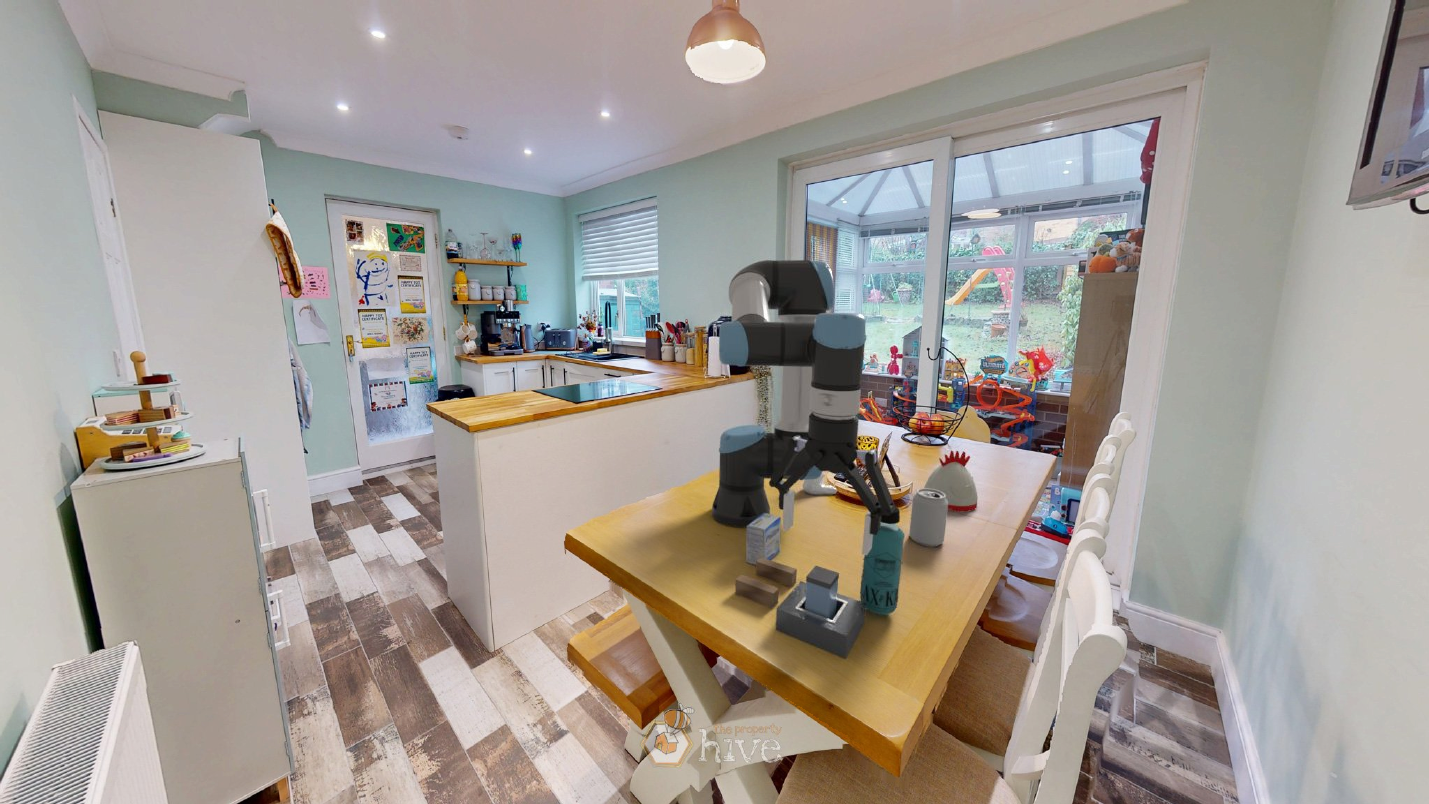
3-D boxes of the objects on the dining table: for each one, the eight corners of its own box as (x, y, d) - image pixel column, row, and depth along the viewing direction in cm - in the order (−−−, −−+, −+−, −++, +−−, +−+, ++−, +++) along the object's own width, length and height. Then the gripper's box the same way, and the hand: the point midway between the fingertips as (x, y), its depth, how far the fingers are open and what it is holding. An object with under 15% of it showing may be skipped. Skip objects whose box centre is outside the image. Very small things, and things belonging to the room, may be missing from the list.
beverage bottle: (853, 601, 89) (861, 500, 85) (887, 599, 89) (897, 499, 86) (867, 624, 82) (876, 515, 79) (904, 622, 83) (915, 514, 79)
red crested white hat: (986, 512, 129) (993, 459, 126) (935, 511, 129) (941, 458, 126) (961, 492, 143) (967, 444, 140) (915, 491, 143) (919, 443, 140)
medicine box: (764, 568, 100) (765, 530, 98) (745, 562, 102) (746, 524, 100) (779, 552, 106) (781, 516, 105) (761, 547, 109) (763, 511, 107)
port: (775, 629, 81) (776, 607, 80) (799, 600, 89) (800, 580, 88) (845, 658, 74) (847, 634, 73) (864, 624, 82) (866, 602, 82)
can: (947, 549, 108) (953, 500, 106) (912, 546, 110) (917, 497, 108) (939, 534, 116) (944, 487, 113) (906, 531, 117) (910, 485, 115)
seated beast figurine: (838, 494, 140) (840, 455, 138) (815, 499, 136) (818, 459, 134) (816, 484, 148) (818, 446, 146) (794, 489, 144) (796, 450, 142)
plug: (803, 630, 81) (806, 576, 79) (812, 617, 84) (815, 565, 82) (826, 639, 79) (830, 584, 77) (835, 626, 82) (839, 572, 80)
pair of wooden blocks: (735, 593, 91) (735, 579, 90) (760, 570, 99) (760, 557, 98) (773, 608, 86) (773, 593, 86) (795, 582, 95) (796, 568, 94)
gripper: (751, 407, 78) (748, 527, 83) (913, 432, 64) (898, 573, 69) (772, 399, 84) (768, 511, 89) (924, 420, 71) (910, 551, 75)
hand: (825, 539), depth 79 cm, fingers open, 13 cm apart
